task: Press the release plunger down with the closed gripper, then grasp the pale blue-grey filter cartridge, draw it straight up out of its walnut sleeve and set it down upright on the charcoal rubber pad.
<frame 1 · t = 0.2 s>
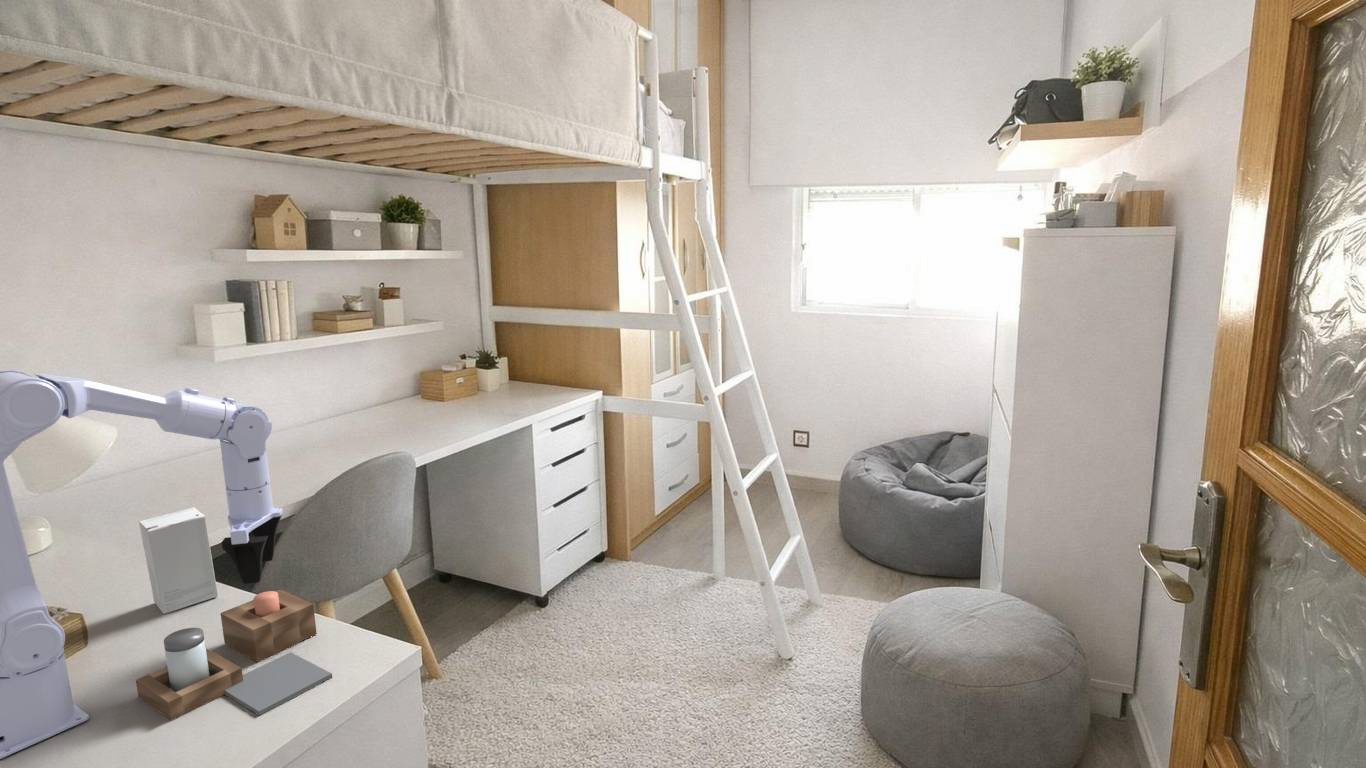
hand: (258, 571, 115), 10 cm above the table, tool pointing down, fingers open, 7 cm apart
skincare box: (185, 602, 127), on the table
plunger housing: (271, 639, 115), on the table
filter cartridge: (191, 691, 102), resting in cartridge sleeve
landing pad: (276, 683, 104), on the table
release plunger: (267, 611, 114), point 5 cm above the table, slide at 0.0 cm
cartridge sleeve: (191, 690, 102), on the table
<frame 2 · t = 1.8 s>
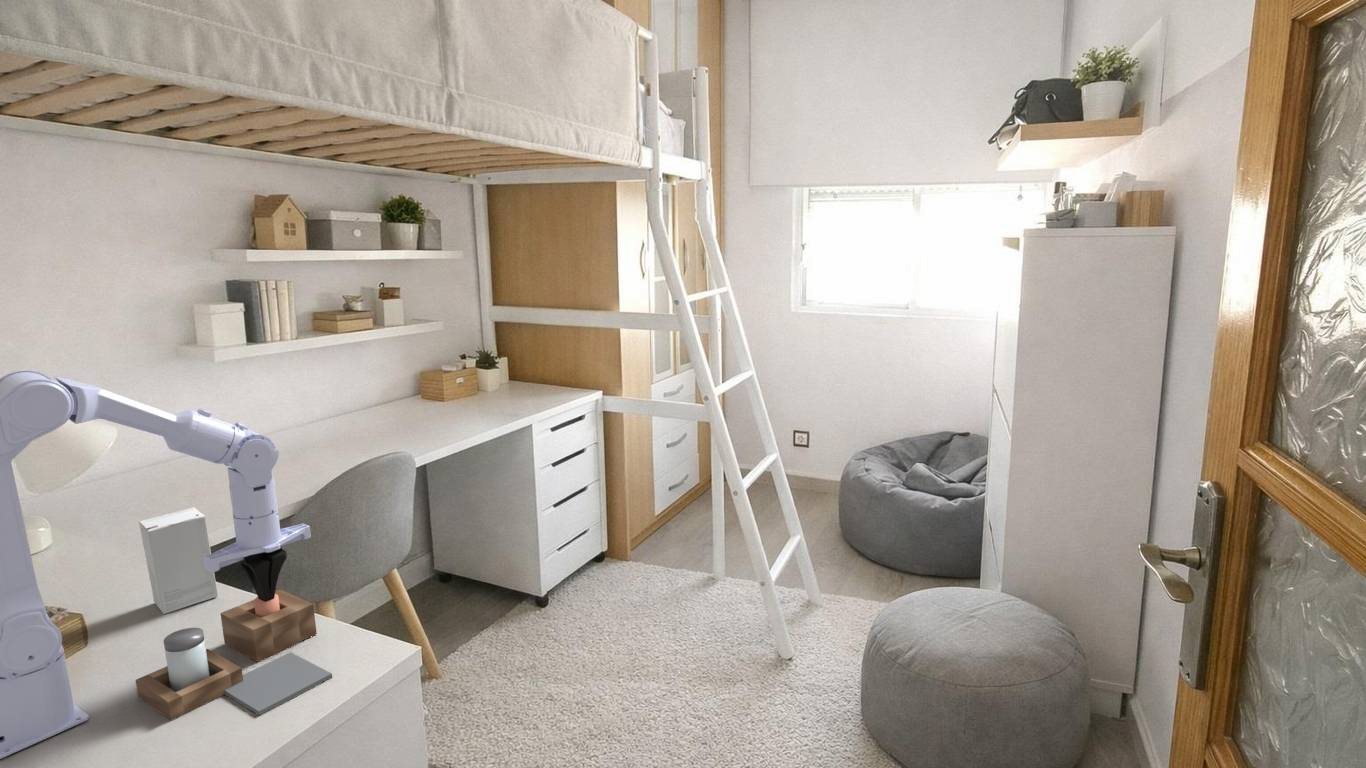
hand: (266, 598, 114), 7 cm above the table, tool pointing down, fingers closed, pressing on release plunger
release plunger: (268, 613, 114), point 4 cm above the table, slide at 0.4 cm, touching gripper
everything else where it was.
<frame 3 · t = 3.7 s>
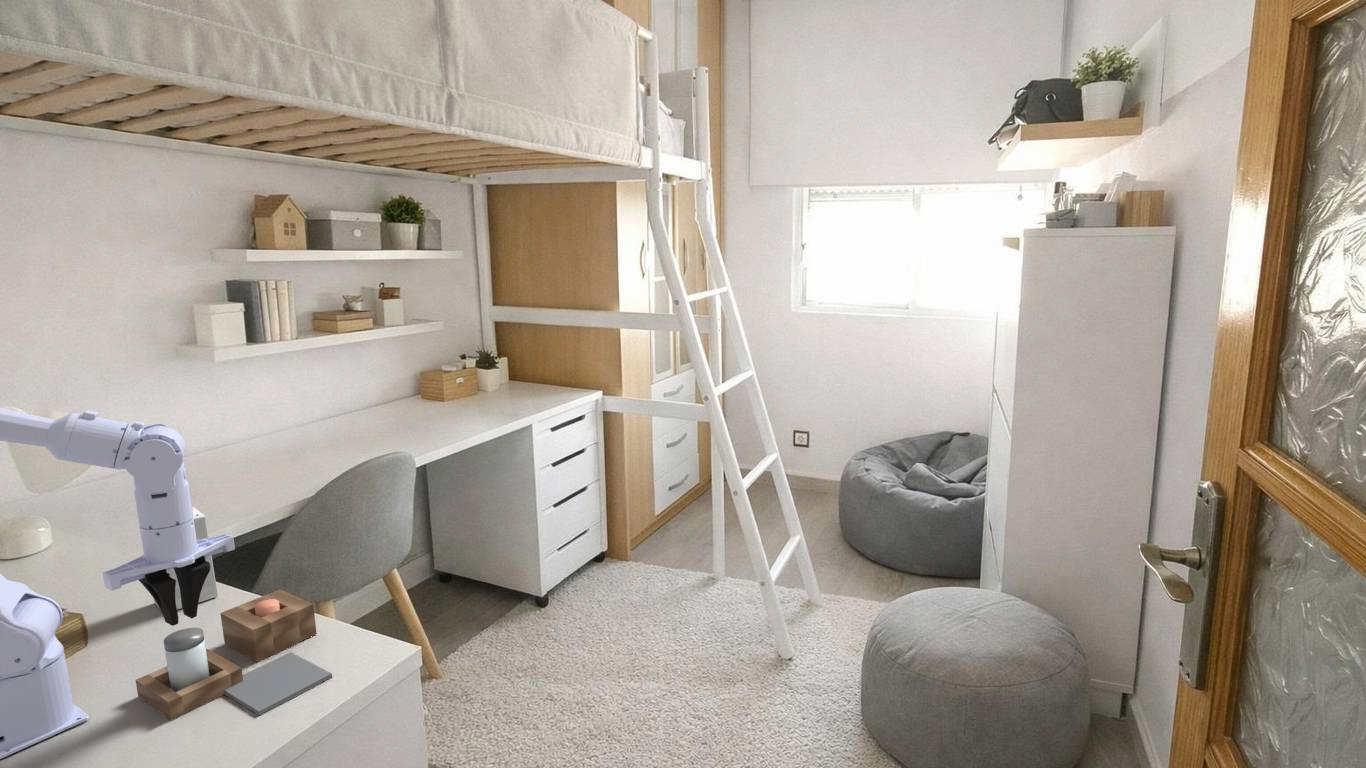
hand: (181, 619, 100), 10 cm above the table, tool pointing down, fingers closed
release plunger: (268, 619, 115), point 3 cm above the table, slide at 1.3 cm
everything else where it was.
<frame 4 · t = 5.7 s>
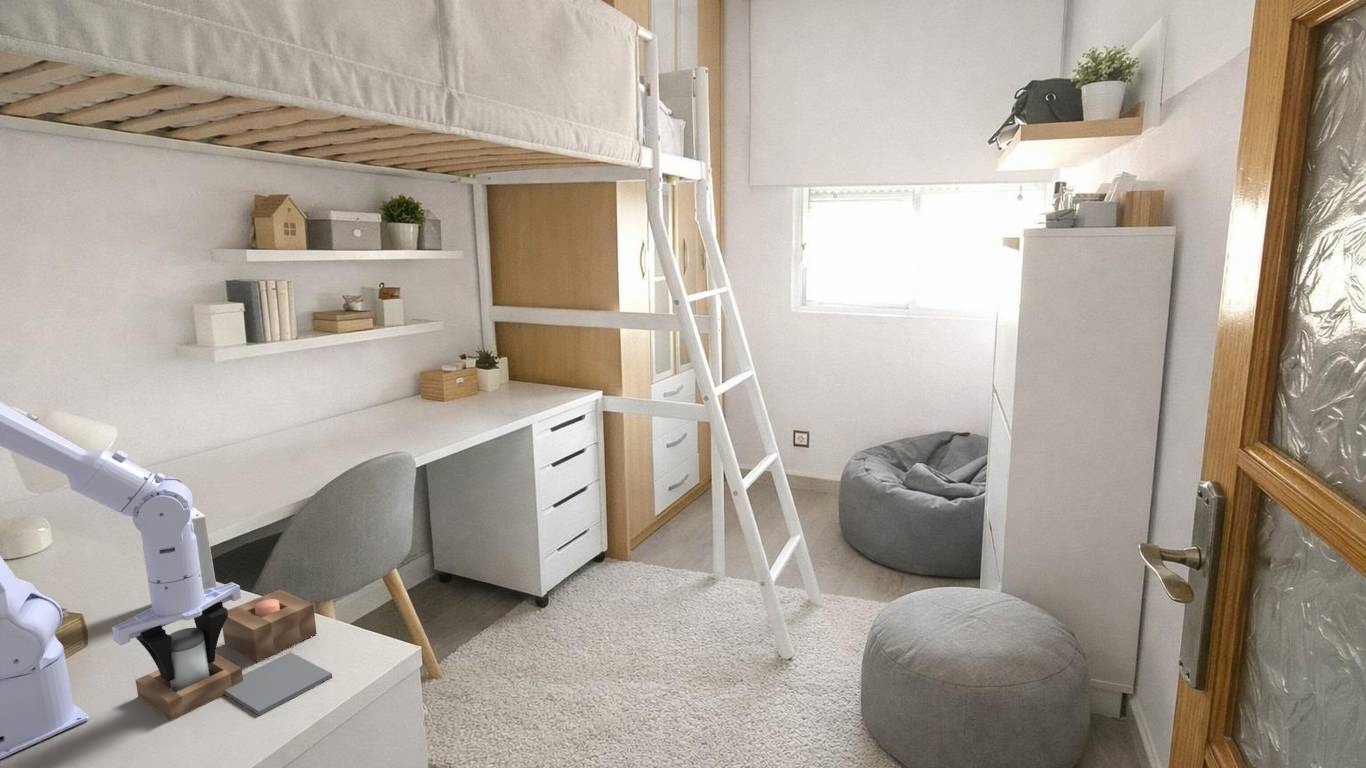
hand: (188, 669, 102), 3 cm above the table, tool pointing down, fingers closed on filter cartridge, 4 cm apart
filter cartridge: (191, 690, 102), resting in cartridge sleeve, touching gripper
everything else where it was.
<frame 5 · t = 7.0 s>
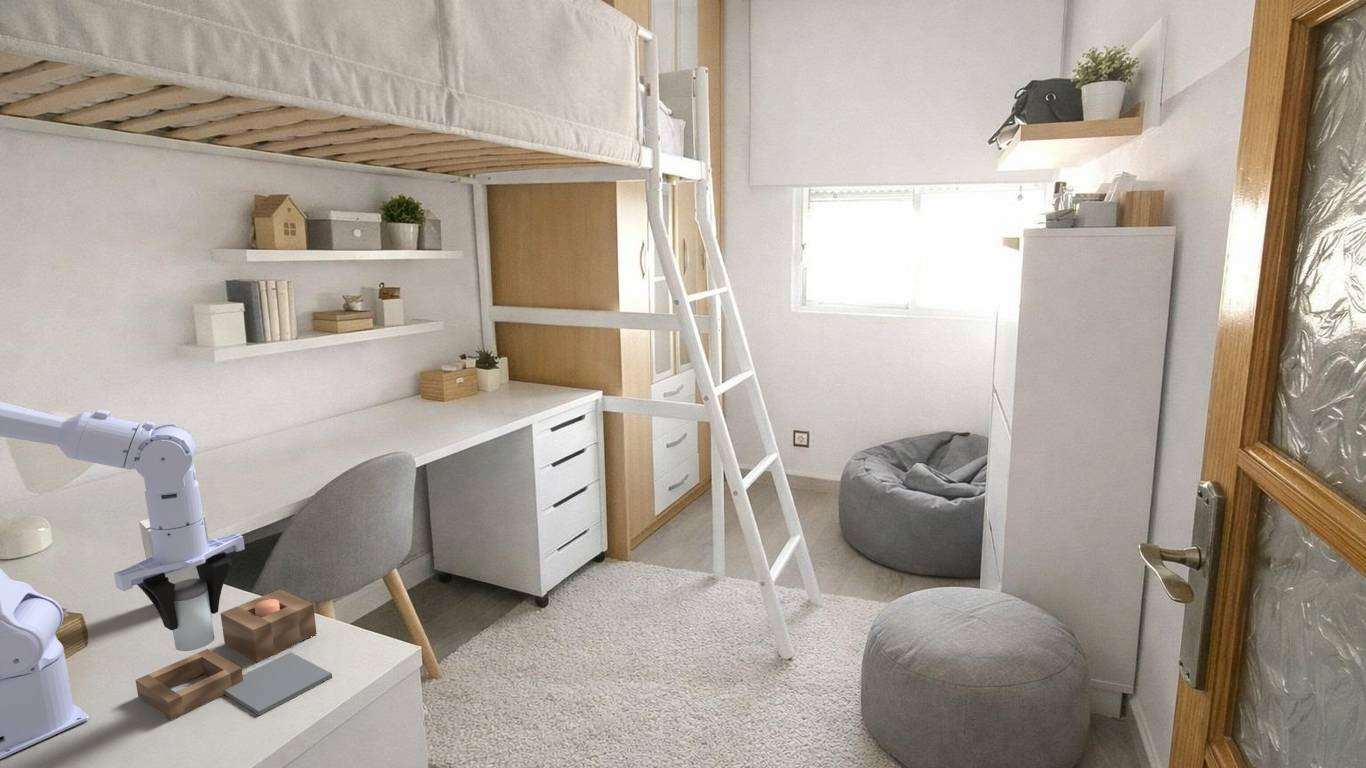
hand: (191, 619, 100), 10 cm above the table, tool pointing down, fingers closed on filter cartridge, 4 cm apart
filter cartridge: (195, 642, 101), point 7 cm above the table, touching gripper
everything else where it was.
when the fingers open (6 cm above the table, at t = 8.8 s): filter cartridge drops 2 cm, resting on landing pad.
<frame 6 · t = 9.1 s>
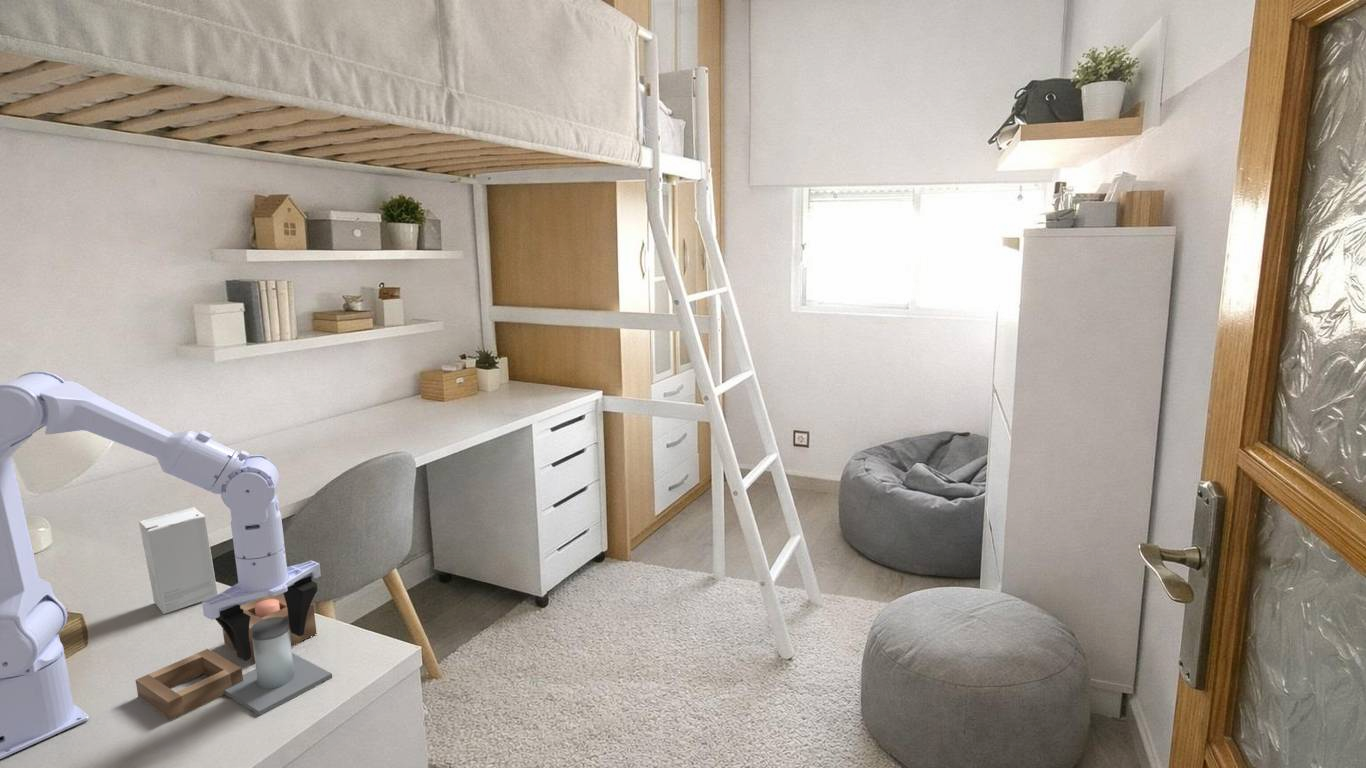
hand: (271, 645, 103), 6 cm above the table, tool pointing down, fingers open, 7 cm apart
filter cartridge: (276, 679, 104), point 1 cm above the table, touching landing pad
everything else where it was.
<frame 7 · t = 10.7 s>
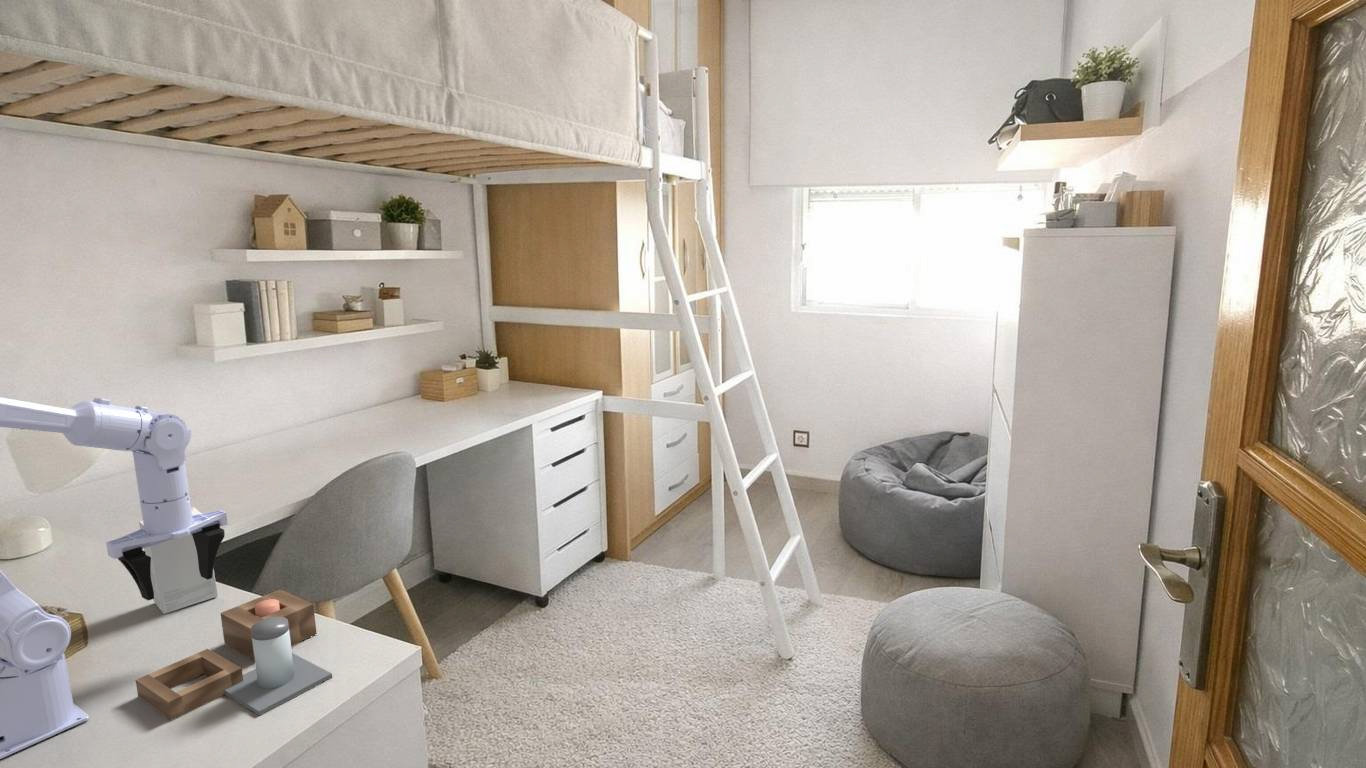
hand: (178, 587, 109), 10 cm above the table, tool pointing down, fingers open, 7 cm apart
nothing on the table moved.
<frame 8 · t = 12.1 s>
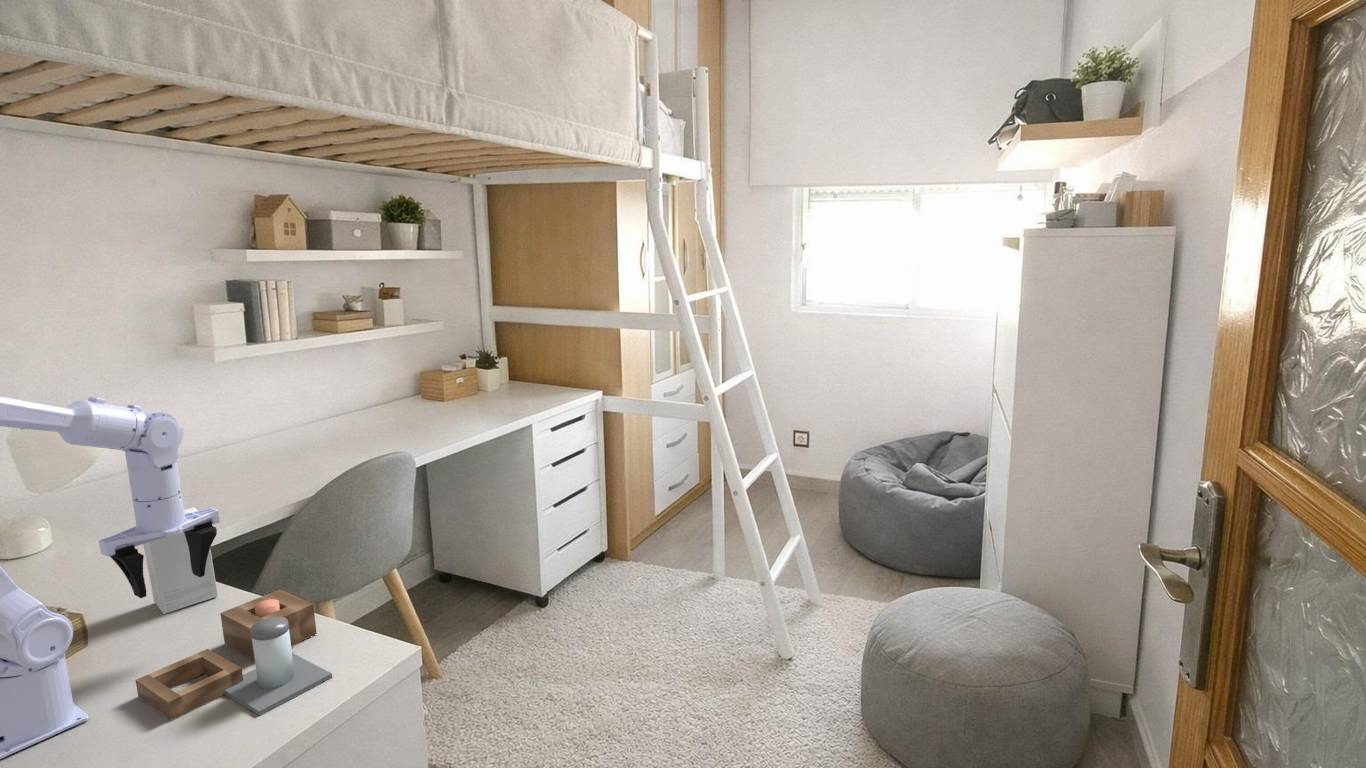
hand: (170, 585, 110), 10 cm above the table, tool pointing down, fingers open, 7 cm apart
nothing on the table moved.
at the end: filter cartridge 0.1 cm off-centre on the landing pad, point 0.6 cm above the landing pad's base; filter cartridge tilted 0°; release plunger slide at 1.3 cm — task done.
